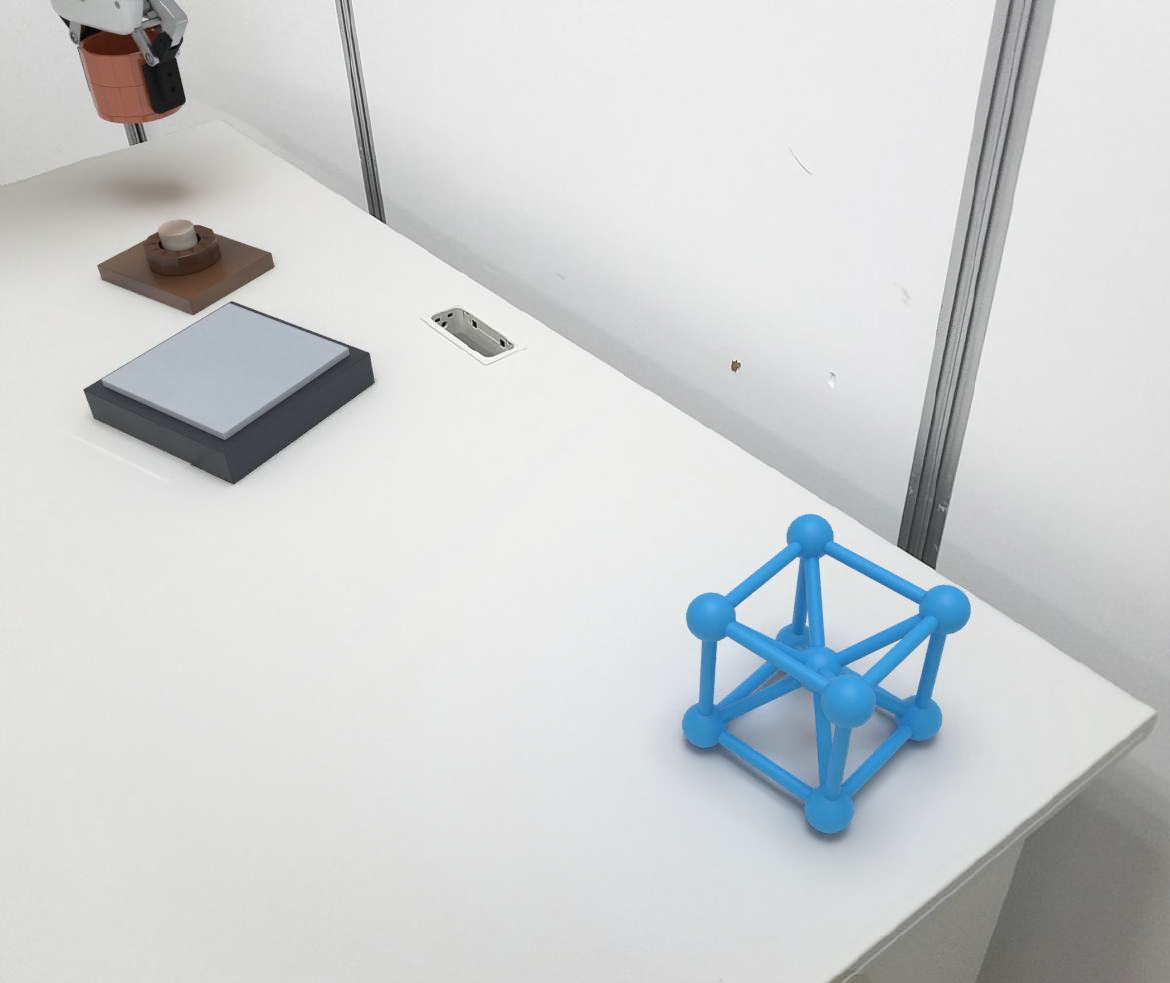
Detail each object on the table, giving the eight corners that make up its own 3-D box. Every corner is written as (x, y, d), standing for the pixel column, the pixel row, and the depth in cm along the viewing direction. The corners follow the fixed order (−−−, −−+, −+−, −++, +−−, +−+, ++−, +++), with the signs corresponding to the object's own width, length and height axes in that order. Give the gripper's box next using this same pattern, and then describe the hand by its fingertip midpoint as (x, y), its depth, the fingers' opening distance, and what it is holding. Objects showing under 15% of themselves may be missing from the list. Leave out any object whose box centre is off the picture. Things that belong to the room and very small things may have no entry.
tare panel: (101, 280, 99) (90, 246, 97) (184, 236, 105) (175, 203, 103) (193, 316, 95) (183, 282, 93) (275, 268, 100) (267, 234, 98)
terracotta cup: (79, 112, 103) (60, 46, 100) (144, 86, 108) (128, 21, 104) (135, 130, 100) (118, 62, 97) (200, 102, 105) (186, 37, 101)
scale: (87, 416, 85) (73, 379, 83) (233, 327, 93) (223, 291, 91) (233, 484, 79) (222, 446, 77) (375, 382, 87) (368, 345, 85)
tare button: (155, 247, 98) (150, 229, 97) (181, 233, 99) (176, 216, 98) (179, 256, 96) (174, 238, 95) (205, 241, 98) (200, 224, 97)
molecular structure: (790, 637, 67) (807, 497, 60) (947, 731, 62) (985, 590, 55) (671, 740, 62) (675, 600, 55) (832, 852, 57) (858, 712, 50)
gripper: (-36, -140, 93) (37, 92, 105) (114, -111, 86) (174, 135, 98) (45, -159, 98) (106, 66, 110) (194, -132, 90) (241, 105, 102)
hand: (137, 97), depth 104 cm, fingers closed on terracotta cup, 7 cm apart
